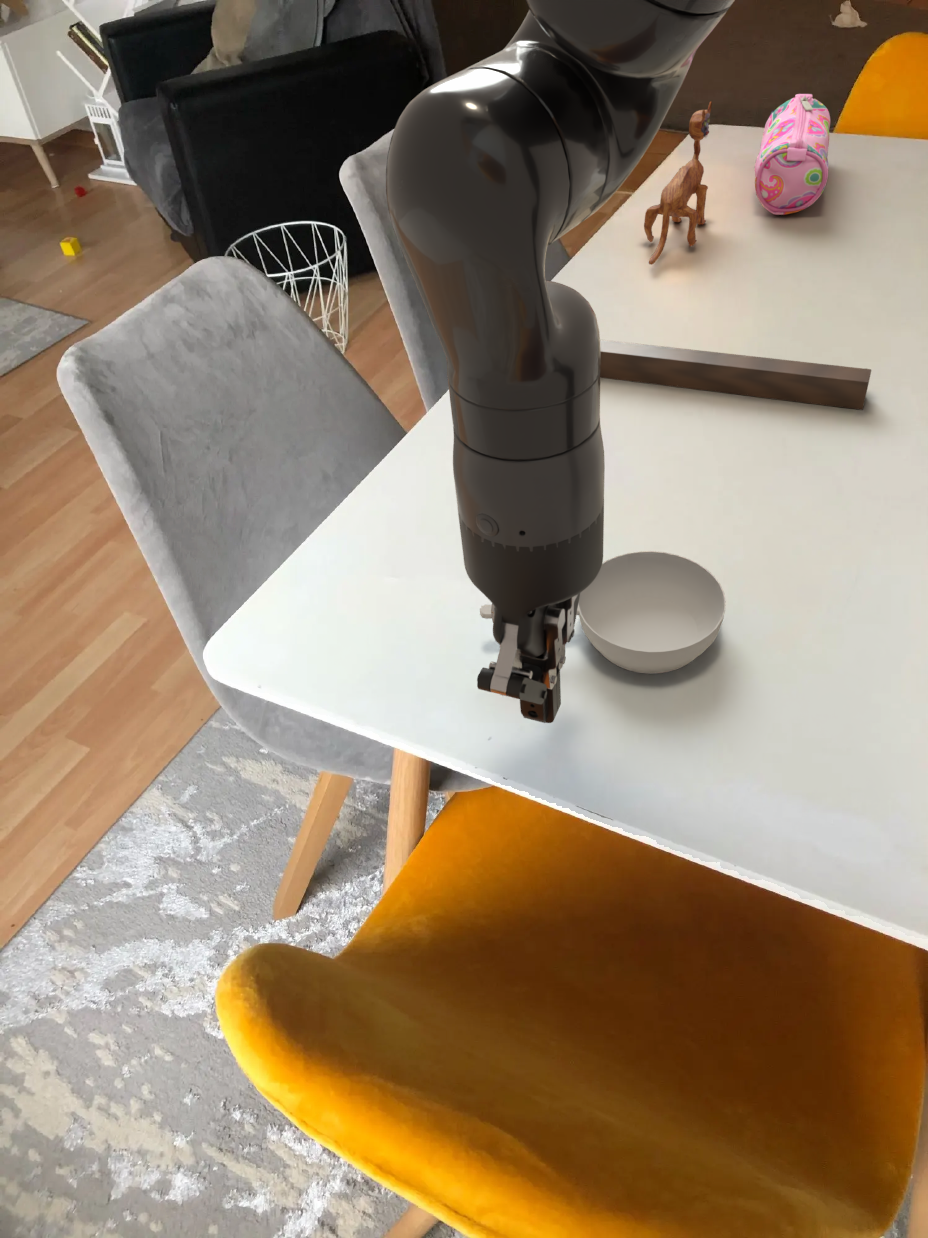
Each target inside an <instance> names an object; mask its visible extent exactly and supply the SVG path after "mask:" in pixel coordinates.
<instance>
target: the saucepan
mask: <svg viewBox="0 0 928 1238" xmlns="http://www.w3.org/2000/svg"><path fill="white" fill-rule="evenodd" d="M726 603H727V600H726V596H725V591H724V589H723V586H722V585H721V583H720V582H719V580H718V579H717V578H716V576H715V575H714V574H713V573H712V572H710V570H709V569H707V568H706V567H705V566H703V565H701V564H700V563H698V562H697V561H694V560H692V559H690V558H687V557H685V556H682V555H679V554H675V553H671V552H664V551H656V550H655V551H654V550H648V551H642V550H641V551H633V552H627V553H623V554H620V555H619V554H618V555H615V556H614V557H610V558H608V559H606V560H605V561H603V562H602V566H601V569H600V571H599V573H598V575H597V577H596V578H595V579H594V581H593V582H592V583H591V584H590V585H589V586H588V587H587V588H586V589H585V590H583V591H582V592H581V593H580V598H579V603H578V608H577V614H576V616H578V617H579V622H580V626H581V628H582V631H583V632H584V633H583V634H584V635H585V637H586V638H587V639H588V641H589V642H590V643H591V644H592V646H593V647H594V649H596V650H597V651H598V652H599V653H600V654H601V655H602V657H604V659H607V660H608V661H609V662H610V663H612V664H613V665H616V666H617V667H620V668H622V669H624V670H627V671H630V672H634V673H640V674H662V673H663V674H664V673H669V672H672V671H676V670H679V669H682V668H683V667H686V666H687V665H689V664H690V663H692V662H693V661H694V660H695V659H697V658H698V657H699V656H700V655H702V654H703V653H704V652H705V651H706V650H707V649H708V648H709V647H710V646H711V645H712V644H713V643H714V641H715V640H716V639H717V637H718V635H719V632H720V630H721V628H722V625H723V621H724V617H725V613H726V605H727V604H726ZM491 606H492V604H484V605H481V606H480V608H479V615H480V617H481V618H482V619H486V620H487V619H489V620H490V619H491V620H492V615H491Z"/></svg>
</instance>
